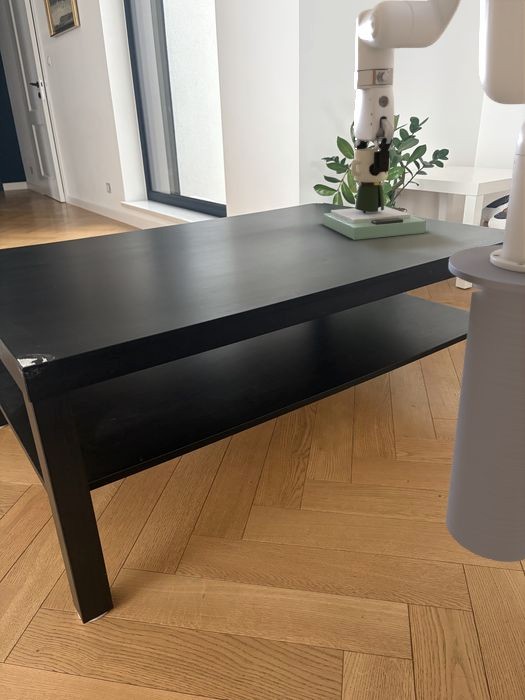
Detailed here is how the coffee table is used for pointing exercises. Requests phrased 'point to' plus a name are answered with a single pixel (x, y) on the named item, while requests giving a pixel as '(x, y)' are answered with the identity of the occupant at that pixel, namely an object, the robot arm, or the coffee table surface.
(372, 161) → the character mug
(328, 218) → the scale
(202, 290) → the coffee table surface
